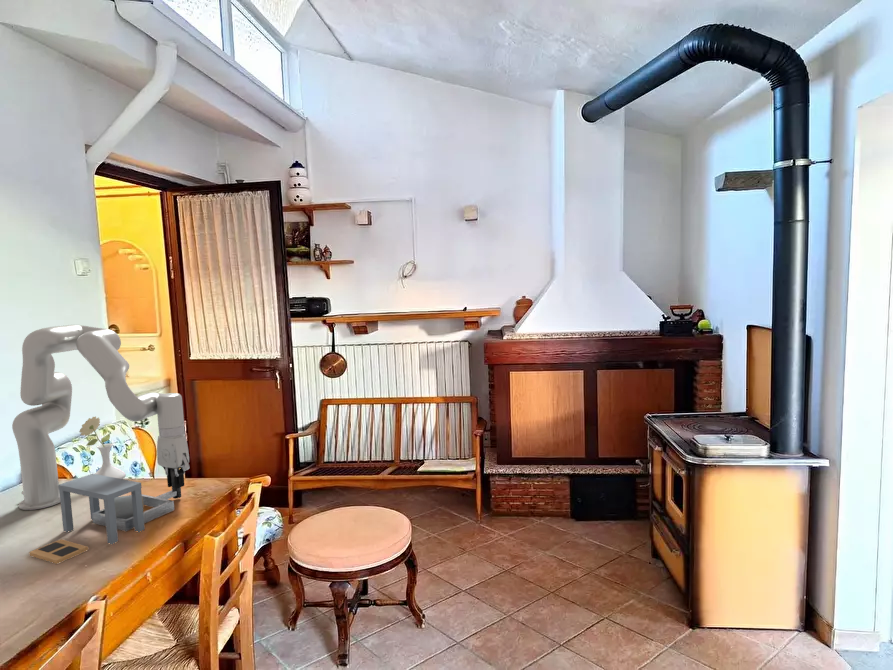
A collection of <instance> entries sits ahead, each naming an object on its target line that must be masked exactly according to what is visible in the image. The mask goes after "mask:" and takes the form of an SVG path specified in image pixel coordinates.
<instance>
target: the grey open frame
mask: <svg viewBox="0 0 893 670" xmlns="http://www.w3.org/2000/svg"><path fill="white" fill-rule="evenodd" d="M178 470H180V468H178ZM170 471H171V483H172V486H171V490H169V491H167V492H163V493H162V494H159V495H157V496H151V495H147V494H143V493H142V497H143V505H144V506H145V505H146V506H145V507H149V508H150V509H147V510H144V512H143V516H144V524H146V523H149V522H151V521H153V520H155V519H157V518H160V517H162V516H164V515H166V514H169V513H171V512H173V511H175V501H174V500H172V499H180V498H182V487H180V488H177V489H176V488H175V483H174V477H175V469H174V468H170ZM92 517H93V521H92V524H95V525H99V526H104V527H106V521H105V510H104V508H102V509H100V511H97V512H94V513H92ZM116 523H117V530H118V531H123V532H127V531H130V530H132V529H135V528H134V517H131V518H128V519H123V518H118V517H116Z"/></svg>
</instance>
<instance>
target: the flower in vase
mask: <svg viewBox="0 0 893 670" xmlns="http://www.w3.org/2000/svg"><path fill="white" fill-rule="evenodd" d="M100 423H101V419H100V417H97V416H92V417H91V418H90V417H89V418H88V419H86V421H85V422H84V423H83V424H82V425H81V427H80V429H79V431H78V432H79V435H80V436H83V437H87V436H90V435H92V434H93V433H94V435H95V437H96V438H92V439H90V440H89V441H88V442H87V444H86V446H94V445H96V443H98V442H99V443H100V444H99V445H97V446H96V448H97V449H98V450H99V451H100V453H101V459H102V465H101V467H100V468H99V469H98V470H97V471H96V472H94V474H98V475H103V476H108V477H113V478H119V479H124V480H125V477H126V476H127V474H126V472H125V471H123V470H122V469H120V468H118V467H116V466H114V465H112V463H111V458H110V456H111V454H110V453H111V449H112V447H113V445H114V443H106V442H108V441H109V440H110V438H111V434H110V433H108V434H106V435H105V436H103V437H102V438H100V439H101V440H100V439H99V437H98V434H97V432H96V431H97V429H98V428H99V426H100Z"/></svg>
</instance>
